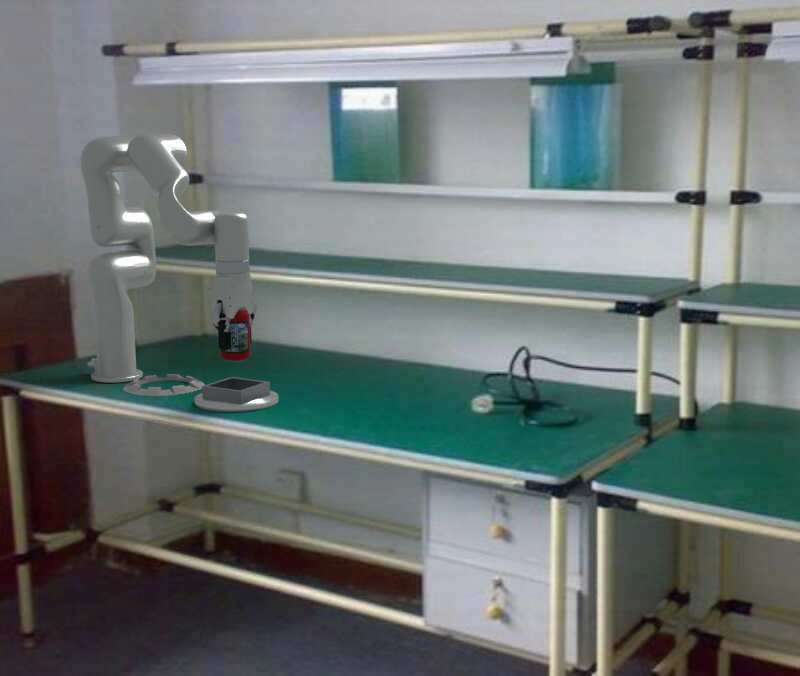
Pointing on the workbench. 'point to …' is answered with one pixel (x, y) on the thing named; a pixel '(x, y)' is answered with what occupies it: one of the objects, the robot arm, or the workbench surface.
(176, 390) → the ring
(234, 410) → the rosette plate
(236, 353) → the beverage can
